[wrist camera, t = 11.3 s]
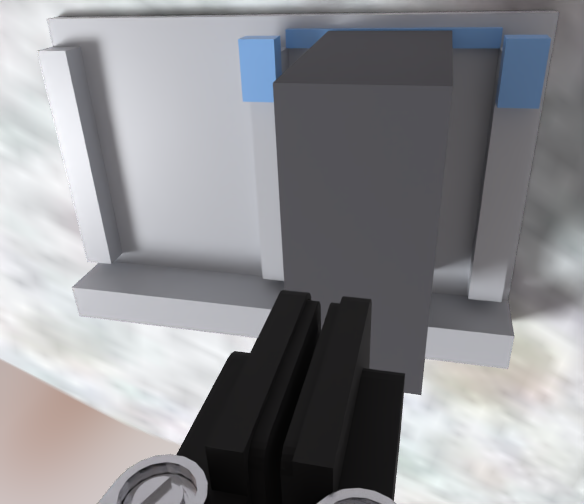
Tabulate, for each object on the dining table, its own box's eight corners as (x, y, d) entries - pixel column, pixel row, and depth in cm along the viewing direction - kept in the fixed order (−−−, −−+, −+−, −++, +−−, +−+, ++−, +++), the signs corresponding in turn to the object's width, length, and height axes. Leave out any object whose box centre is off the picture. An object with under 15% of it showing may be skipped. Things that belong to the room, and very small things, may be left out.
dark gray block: (328, 30, 19) (272, 83, 13) (452, 30, 18) (453, 86, 12) (330, 261, 23) (289, 376, 17) (428, 270, 22) (421, 395, 16)
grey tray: (56, 17, 22) (4, 27, 19) (555, 10, 18) (574, 21, 15) (113, 281, 27) (79, 316, 25) (501, 322, 23) (508, 369, 21)
